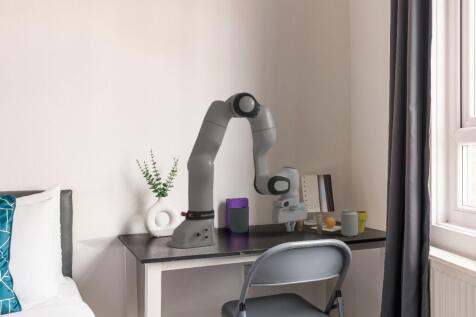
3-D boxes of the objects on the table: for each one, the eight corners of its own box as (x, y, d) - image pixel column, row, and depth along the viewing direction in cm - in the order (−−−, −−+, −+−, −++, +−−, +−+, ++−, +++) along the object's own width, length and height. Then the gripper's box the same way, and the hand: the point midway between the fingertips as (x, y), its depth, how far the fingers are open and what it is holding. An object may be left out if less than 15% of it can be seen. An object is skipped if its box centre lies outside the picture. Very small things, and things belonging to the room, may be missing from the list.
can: (358, 237, 212) (358, 210, 211) (341, 237, 213) (341, 210, 213) (357, 234, 219) (357, 208, 219) (341, 234, 220) (340, 208, 220)
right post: (319, 234, 221) (319, 215, 221) (315, 233, 223) (315, 214, 223) (323, 233, 222) (323, 214, 222) (319, 232, 224) (319, 214, 224)
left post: (300, 230, 231) (300, 212, 230) (296, 230, 233) (296, 212, 232) (303, 230, 232) (303, 212, 232) (299, 229, 234) (299, 211, 234)
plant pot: (370, 233, 221) (370, 212, 221) (348, 233, 221) (348, 213, 221) (365, 229, 231) (364, 209, 231) (343, 229, 231) (343, 210, 231)
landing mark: (331, 231, 227) (331, 231, 227) (309, 228, 238) (309, 227, 238) (349, 228, 236) (349, 227, 236) (327, 224, 247) (327, 224, 247)
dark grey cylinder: (231, 233, 228) (230, 208, 227) (227, 229, 238) (227, 206, 237) (251, 232, 230) (251, 207, 230) (246, 228, 240) (246, 205, 239)
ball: (338, 227, 236) (331, 229, 233) (329, 226, 241) (322, 228, 237) (337, 217, 236) (330, 218, 233) (328, 216, 240) (321, 217, 237)
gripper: (300, 199, 228) (300, 227, 228) (269, 202, 215) (270, 232, 215) (310, 200, 223) (310, 229, 223) (279, 203, 210) (279, 234, 210)
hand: (290, 231), depth 219 cm, fingers closed
